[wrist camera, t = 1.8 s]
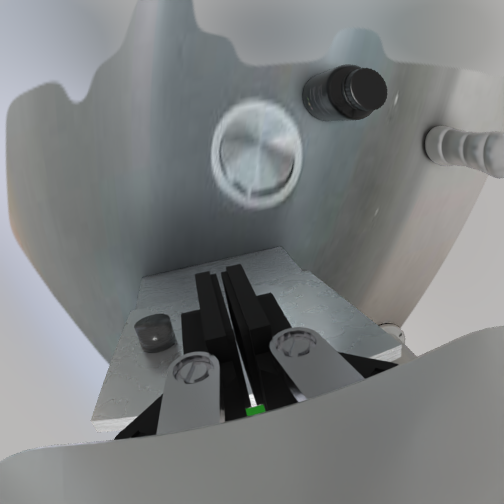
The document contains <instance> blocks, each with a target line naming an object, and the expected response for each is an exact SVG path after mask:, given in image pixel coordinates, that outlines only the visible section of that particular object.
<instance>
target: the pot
mask: <svg viewBox="0 0 504 504" xmlns="http://www.w3.org/2000/svg"><path fill="white" fill-rule="evenodd" d="M237 264H241V265H242V267H243V269H244V271H245V274H246V276H247V278H248V280H249V282H250V284H254V283H258V282H263V281H267V280H271V279H275V278H279V277H283V276H287V275H291V274H296V273H300V272H303V271H302V270H301V269H300V268H299V266H298V265H297V264H296V263H295V262H294V261H293V259H292V258H291V257H290V256H289V255H288V254H287V253H286V251H285V250H284V249H283V248H282V247H281V246H280V247H275V248H271V249H267V250H262V251H258V252H253V253H249V254H244V255H240V256H235V257H231V258H226V259H222V260H217V261H213V262H208V263H204V264H199V265H195V266H190V267H186V268H182V269H177V270H173V271H168V272H164V273H159V274H155V275H150V276H146V277H142V281H141V285H140V290H139V295H138V299H137V304H136V309H135V310H137V309H142V308H147V307H151V306H156V305H161V304H166V303H170V302H175V301H179V300H184V299H188V298H193V297H197V296H198V294H197V287H196V281H195V274H197V273H202V272H206V271H210V275H211V274H215V273H216V275H217V278H218V281H219V285H220V288H221V291H224V286H223V281H222V276H221V272H224V271H226V267H228V266H232V265H237Z"/></svg>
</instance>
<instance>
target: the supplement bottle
mask: <svg viewBox="0 0 504 504" xmlns="http://www.w3.org/2000/svg"><path fill="white" fill-rule="evenodd" d="M386 99H387V86H386V84H385V81H384V79H383V78H382V77H381V75H379V73H378V72H376V71H375V70H372V69H368V68H361V67H359V66H356V65H349V64H347V65H341V66H338V67H336V68H333V69H330V70H328V71H325V72H323V73H320V74H318V75H316V76H314V77H312V78H311V79H309V80H308V82H307V83H306V85H305V87H304V90H303V101H304V104H305V106H306V108H307V110H308V111H309V112H310V113H311V114H312V115H313V116H314V117H316V118H318V119H320V120H323V121H344V120H360V119H363V118H365V117H367V116H369V115H370V114H371V113H372V112H373V110H375V109H378V108H380V107H381V106H382V105H383V104H384V102H385V101H386Z"/></svg>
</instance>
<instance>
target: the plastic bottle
mask: <svg viewBox="0 0 504 504" xmlns="http://www.w3.org/2000/svg"><path fill="white" fill-rule="evenodd" d="M425 149H426V152H427V154H428V156H429V158H430V159H431V160H432V161H433V162H435V163H437V164H439V165H442V166H452V165H457V166H466V167H469V168H473V169H476V170H479V171H482V172H484V173H486V174H488V175H490V176H493V177H495V178H499V179H500V178H504V133H503V132H498V131H495V132H466V131H462V130H457V129H454V128H452V127H448V126H437V127H434V128H432V129H431V130H430V132H429V133H428V134H427V136H426V140H425Z"/></svg>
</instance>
